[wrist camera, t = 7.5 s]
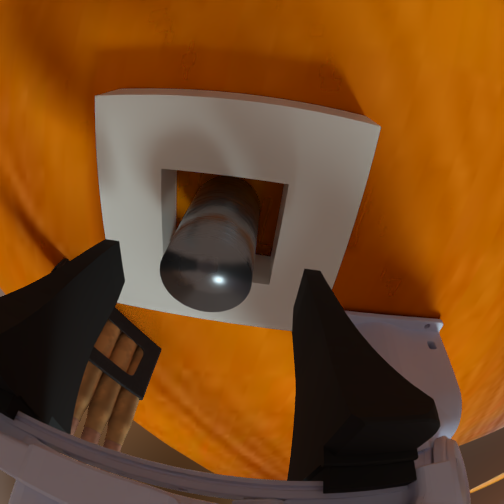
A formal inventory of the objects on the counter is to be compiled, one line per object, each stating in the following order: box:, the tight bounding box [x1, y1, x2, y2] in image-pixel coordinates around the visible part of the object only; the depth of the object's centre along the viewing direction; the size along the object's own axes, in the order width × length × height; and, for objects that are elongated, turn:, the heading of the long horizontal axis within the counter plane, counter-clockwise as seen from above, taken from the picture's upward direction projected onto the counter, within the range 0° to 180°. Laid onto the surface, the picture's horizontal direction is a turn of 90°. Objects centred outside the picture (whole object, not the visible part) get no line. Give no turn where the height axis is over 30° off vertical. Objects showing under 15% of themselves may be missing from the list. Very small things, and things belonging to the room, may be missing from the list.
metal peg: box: [160, 176, 260, 312], centre depth 14 cm, size 4×4×6 cm
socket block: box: [95, 88, 381, 331], centre depth 16 cm, size 12×12×2 cm
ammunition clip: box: [52, 258, 161, 473], centre depth 17 cm, size 11×2×12 cm, turn 33°
